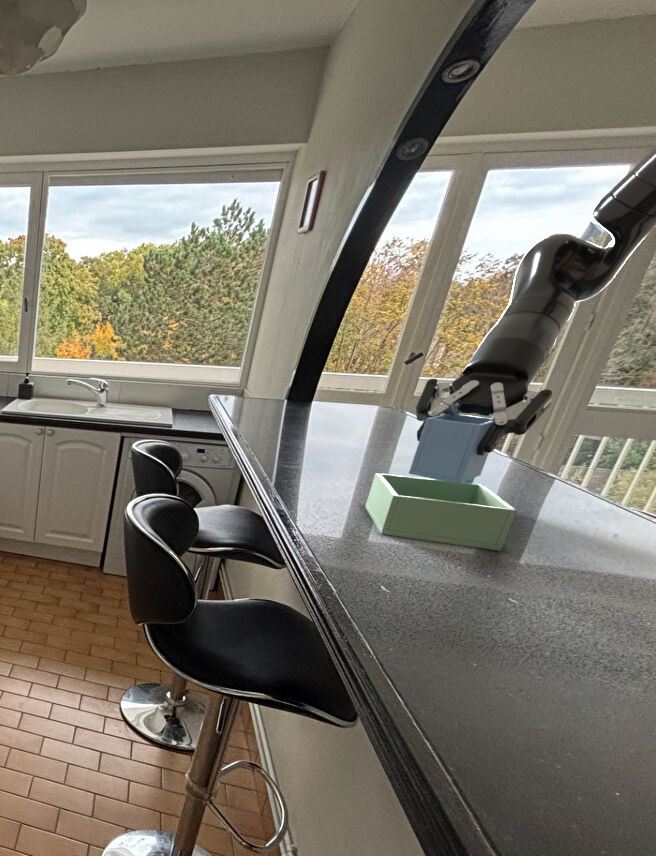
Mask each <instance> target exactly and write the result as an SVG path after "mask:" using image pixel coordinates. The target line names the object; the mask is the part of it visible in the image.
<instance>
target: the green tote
mask: <svg viewBox="0 0 656 856" xmlns="http://www.w3.org/2000/svg"><path fill="white" fill-rule="evenodd" d="M365 509H366V511H367V512H368V514H369V517H370V518H371V519H372V521H373V523H374V524H375V526H376V527H377V530H378V531H379V533H380V534H381V535H385V536H393V537H400V538H407V539H413V540H422V541H429V542H434V543H435V542H436V543H443V544H450V545H455V546H456V545H457V546H464V547H471V548H476V549H477V548H478V549H484V550H492V551H499V552H501V550H502V548H503V545H504V543H505V540H506V538H507V536H508V533H509V531H510V529H511V526H512V523H513V521H514V519H515V516H516V514H517V509H515V507H513V506H511V504H509V503H508V502H507V501H505V500H504V499H503V498H501V497H500V496H498V495H497V494H496V493H495V492H493V491H492V490H490V489H489V488H488V487H487V486H485V485H484V484H482V483H474V482H473V483H464V482H463V483H461V484H458V483H453V482H448V481H443V480H437V479H433V478H428V477H419V476H418V477H417V476H407V475H397V474H389V473H379V472H375V474H374V476H373V480H372V484H371V487H370V490H369V493H368V497H367V500H366V503H365Z"/></svg>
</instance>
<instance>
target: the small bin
mask: <svg viewBox="0 0 656 856" xmlns="http://www.w3.org/2000/svg"><path fill="white" fill-rule="evenodd" d="M494 424H495V420H493V419H492V417H485V416H484V417H483V416H477V415H476V416H475V415H468V414H462V413H460V414H454V415H453V416H452V417H451V418H450V414H442V415H438V416H434V417H430V418H427V419H426V422H425V425H424V428H423V431H422V434H421V438H420V441H418V444H417V446H416V449H415V453H414V456H413V459H412V462H411V465H410V468H409V471H408V474H409V475H413V476H418V477H422V478H427V479H438V480H443V481H448V482H453V483H458V484H461V483H463V482H466V481H468V480H470V479H473V478H474V479H475V478H478V477H481V475H482V472H483V470H484V467H485V464H486V461H487V458H488V457H489V454H490V453H488V452H486V453H485V455H484V456H482V455H477V447H478V445H479V443H480V441H481V440H482V438H483V437H484V435H485V434H486V432H487V431H488V429H489V427H490V426H491V425H494Z"/></svg>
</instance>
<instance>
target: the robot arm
mask: <svg viewBox="0 0 656 856" xmlns="http://www.w3.org/2000/svg"><path fill="white" fill-rule="evenodd" d="M591 217H592V219H593V221H594V222H595V223H596V224H597V225H599V226H600V227H601V228H602V229H604V230H605V231H606V232H608V234H610V236H611V238H612V240H611V241H610V242H609V243H608V245H607V246H606V247H602V246H599V245H597V244H595V243H592V242H590V241H587V240H585V239H582V238H581V237H577V236H576V235H572V234H570V233H564V232H563V233H562V232H561V233H555V234H551V235H548V236H546V237H544V238H542V239H540V240H538V241H537V242H536V243H535V244H533V245H532V247H530V248H529V249H528V251H526V253H524V255H523V257H522V259H521V260H520V262H519V264H518V266H517V269H516V271H515V276H514V277H513V278H514V279H513V285H512V290H511V294H510V299H509V303H508V305H507V307H506V309H505V310H504V311H503V313H502V314H501V316H500V318H499V319H498V321H497V322H496V324H495V325H494V326H493V327H492V328H491V329H490V330H489V331H488V333H487V334H486V335H485V336H484V338H483V340H482V341H481V343H480V344H479V345H478V347H477V349H476V350H475V352H474V353H473V355H472V356H471V358H470V359H469V361H468V363H467V364H466V365H465V367H464V368H463V370H462V372H461V374H460V375H459V376H458V377H457V378H455V379H454V380H452V381H451V382H438V379H437V378H430V379H428V380H427V381H426V383H425V386H424V388H423V390H422V393H421V394H420V396H419V399H418V402H417V404H416V406H415V413H416V415H415V416H416V420H417V421H419V422H422V424H421V425H420V427H419V428H418V429H417V431H416V441H417V442H419V441H420V438H421V434H422V431H423V428H424V425H425V422H426V419H427V418H430V417H434V416H438V415H442V414H450V418H451V417H452V416H453V415H454V414H477V415H480V416H484V417H485V416H486V417H489V416H490V415H491V418H492V419H493V420H495V424H494V425H491V426H490V427H489V429H488V431H487V432H486V434H485V435H484V437H483V438H482V440H481V441H480V443H479V445H478V447H477V455H482V456H484V455H485V453H486V452H488V453H489V454H491V453H492V452H493V451H495V449H496V448H497V446H498V444H499V443H500V442H501V440H502V438H503V437H504V436H506V435H508V434H514V435H517V436H522V435H525V434H527V432H528V431H530V429H531V428H532V426H533V425H534V424H535V423H536V422H537V421H538V420H539V419H540V418H541V417H542V416H543V414H544V413H545V412H546V411H547V410H548V409H549V408H550V407H551V403H552V398H553V391H552V390H551V389H542V390H540V391H539V392H538V391H533V390H529V386H530V385H531V383H532V382H533V380H534V378H535V377H536V375H537V374H538V372H539V371H540V369H541V367H542V366H543V365H544V363H545V362H547V360H548V358H549V357H550V355H551V352H552V351H553V348H554V347H555V344H556V341H557V339H558V337H559V335H560V334H561V332H562V331H563V329H564V328H565V326H566V324H567V323H568V321H569V320H570V318H571V316H572V315H573V313H574V311H575V308H576V303H578V302H581V301H585V300H588V299H591V298H593V297H594V296H596V295H598V294H599V293H600V292H602V291H603V290H604V289H606V287H607V286H608V285H609V284H610V283H611V282H612V281H613V279H614V278H616V275H617V274H618V273H619V271H620V270H621V269H622V267H623V266H624V265H625V263H626V261H627V260H628V259H629V257H630V256H631V255H632V254H633V252H634V251H635V250H636V249H637V247H638V246H639V245H641V243H642V241H643V240H645V238H646V237H647V236H648V235H649V234H650V233H651V232H652V230H654V229H655V227H656V147H655V148H654V149H653V150H651V151H650V152H649V153H648V154H647V155H646V156H645V157H644V158H643V159H642V160H641V161H640V162H639V163H638V164H637V165H635V166H634V167H633V168H632V170H630V171H629V172H628V173H627V174H626V175H625V176H624V177H623V178H622V179H621V180H620V181H619V182H618V183H617V184H616V185H615V186H613V188H612V189H611V190H610V191H608V192H607V194H605V195H604V197H602V198H601V199H600V200H599V201H598V202H597V204H596V205H595V206H594V207H593V209H592V211H591ZM446 393H449V395H448V396H447V397H445V398H444V399H442V401H441V402H440V403H439V404H438V405H436V406H435V407H434V408H433V406H434V403H435V400H439V399H440V398H441V397H442V396H443V395H444V394H446ZM524 401H525V408H524V409H523V410H522V411H521V412H520V413H519V415H517V417H516V418H512V419H508V414H507V409H508V408H511V407H513V406H515V405H518V404H519V403H522V402H524Z"/></svg>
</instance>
